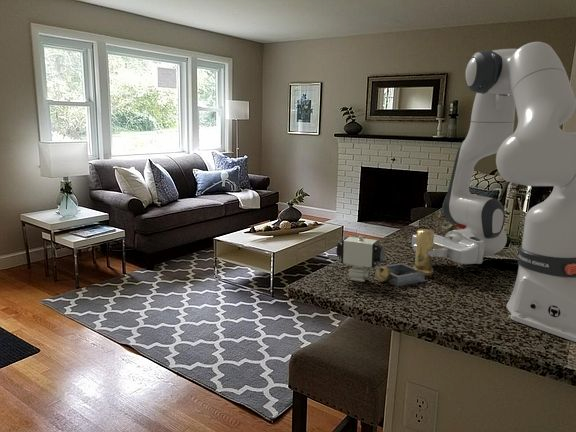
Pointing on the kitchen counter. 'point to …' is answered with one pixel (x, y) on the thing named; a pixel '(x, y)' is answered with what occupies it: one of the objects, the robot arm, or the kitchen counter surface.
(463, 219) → the robot arm
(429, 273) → the pipe fitting
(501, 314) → the kitchen counter surface
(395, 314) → the kitchen counter surface
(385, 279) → the grey rectangular tray
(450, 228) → the onion
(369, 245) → the pneumatic valve
